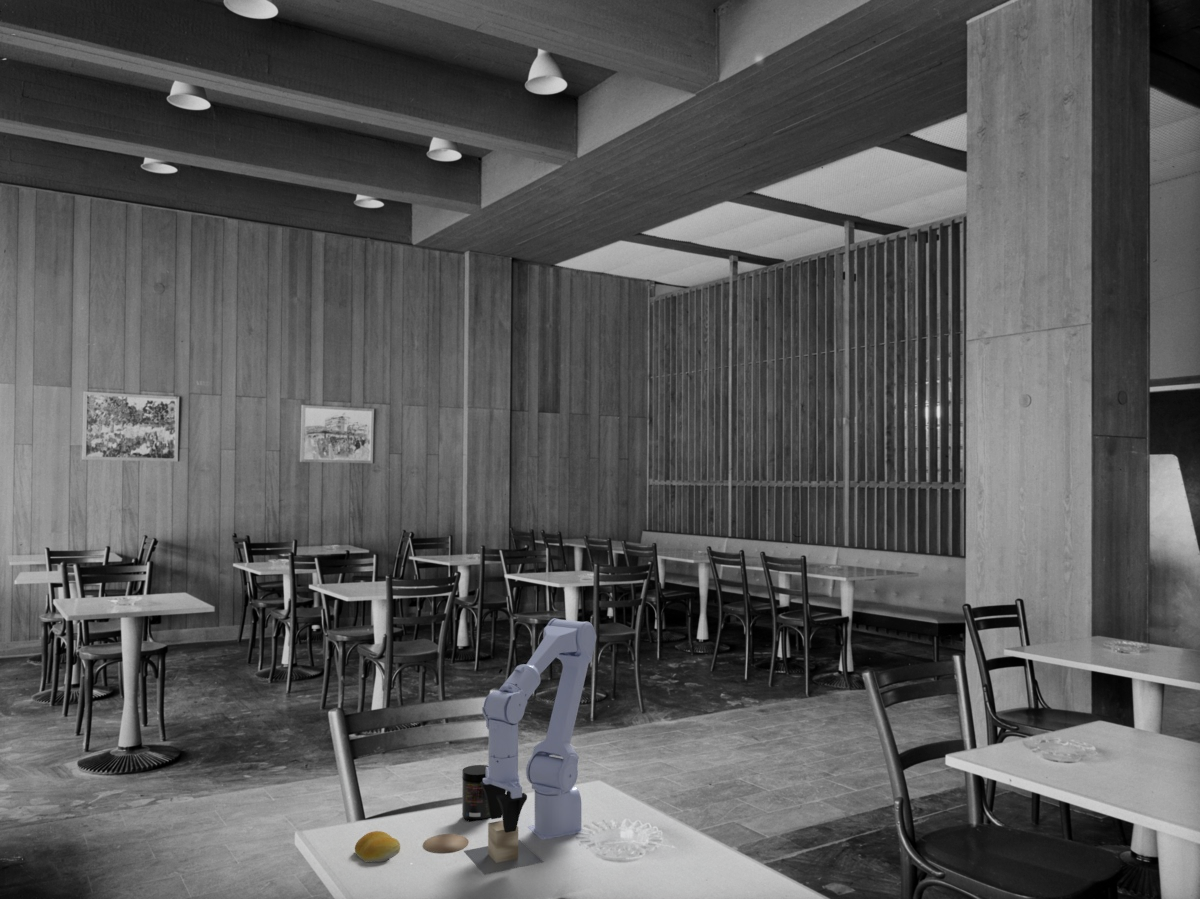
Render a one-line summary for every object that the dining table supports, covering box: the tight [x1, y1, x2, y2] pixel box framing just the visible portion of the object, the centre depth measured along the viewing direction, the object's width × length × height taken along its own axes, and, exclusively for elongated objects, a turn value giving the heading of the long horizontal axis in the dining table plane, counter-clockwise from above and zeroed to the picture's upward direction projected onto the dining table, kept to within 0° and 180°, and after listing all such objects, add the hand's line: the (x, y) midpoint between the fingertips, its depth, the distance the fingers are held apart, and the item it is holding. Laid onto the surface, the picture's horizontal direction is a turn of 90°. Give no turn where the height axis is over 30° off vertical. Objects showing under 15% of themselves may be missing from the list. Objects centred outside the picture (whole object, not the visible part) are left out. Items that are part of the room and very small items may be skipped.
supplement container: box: [461, 764, 491, 823], centre depth 199 cm, size 7×7×10 cm
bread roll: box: [354, 830, 401, 863], centre depth 180 cm, size 8×9×4 cm
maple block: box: [487, 820, 519, 863], centre depth 178 cm, size 4×4×6 cm
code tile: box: [463, 839, 545, 875], centre depth 177 cm, size 12×12×1 cm
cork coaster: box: [422, 833, 470, 854], centre depth 184 cm, size 9×9×1 cm
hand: (502, 824), depth 178 cm, fingers open, 7 cm apart
